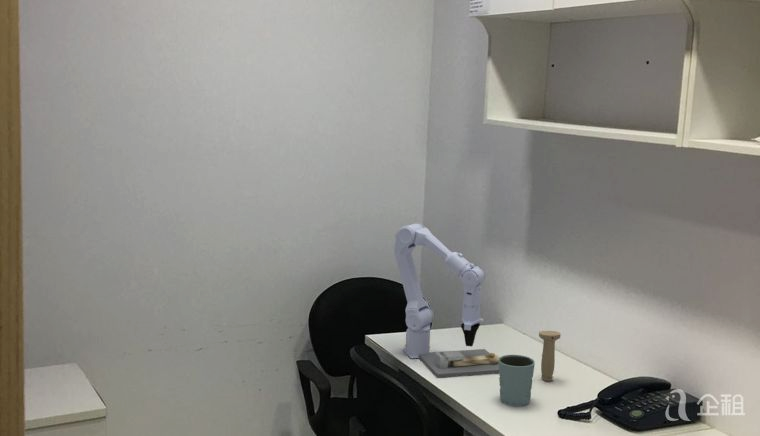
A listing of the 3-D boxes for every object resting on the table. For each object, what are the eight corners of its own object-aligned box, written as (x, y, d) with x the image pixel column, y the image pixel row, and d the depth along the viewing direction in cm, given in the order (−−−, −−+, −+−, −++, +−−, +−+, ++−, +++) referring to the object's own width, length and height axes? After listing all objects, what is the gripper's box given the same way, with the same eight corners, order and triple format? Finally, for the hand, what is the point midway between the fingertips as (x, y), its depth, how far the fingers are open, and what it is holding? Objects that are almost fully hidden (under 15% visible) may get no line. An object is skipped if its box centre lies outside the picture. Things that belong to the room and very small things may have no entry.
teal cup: (539, 403, 213) (542, 362, 211) (513, 410, 208) (515, 368, 206) (515, 391, 222) (517, 352, 220) (489, 397, 216) (491, 357, 214)
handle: (559, 382, 230) (562, 335, 227) (539, 383, 229) (542, 335, 226) (553, 376, 234) (556, 330, 232) (534, 377, 233) (537, 330, 231)
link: (494, 358, 245) (495, 351, 245) (501, 363, 241) (501, 355, 241) (449, 362, 240) (449, 355, 240) (454, 367, 236) (455, 359, 236)
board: (417, 356, 250) (417, 353, 250) (484, 352, 256) (484, 348, 256) (437, 377, 231) (437, 374, 230) (509, 372, 237) (509, 369, 237)
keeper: (458, 361, 242) (458, 351, 242) (464, 367, 237) (464, 356, 237) (435, 363, 240) (435, 352, 240) (440, 368, 235) (440, 357, 235)
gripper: (481, 312, 232) (478, 354, 234) (486, 300, 246) (484, 340, 248) (458, 309, 234) (456, 351, 236) (465, 298, 248) (463, 337, 250)
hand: (469, 345), depth 242 cm, fingers closed
